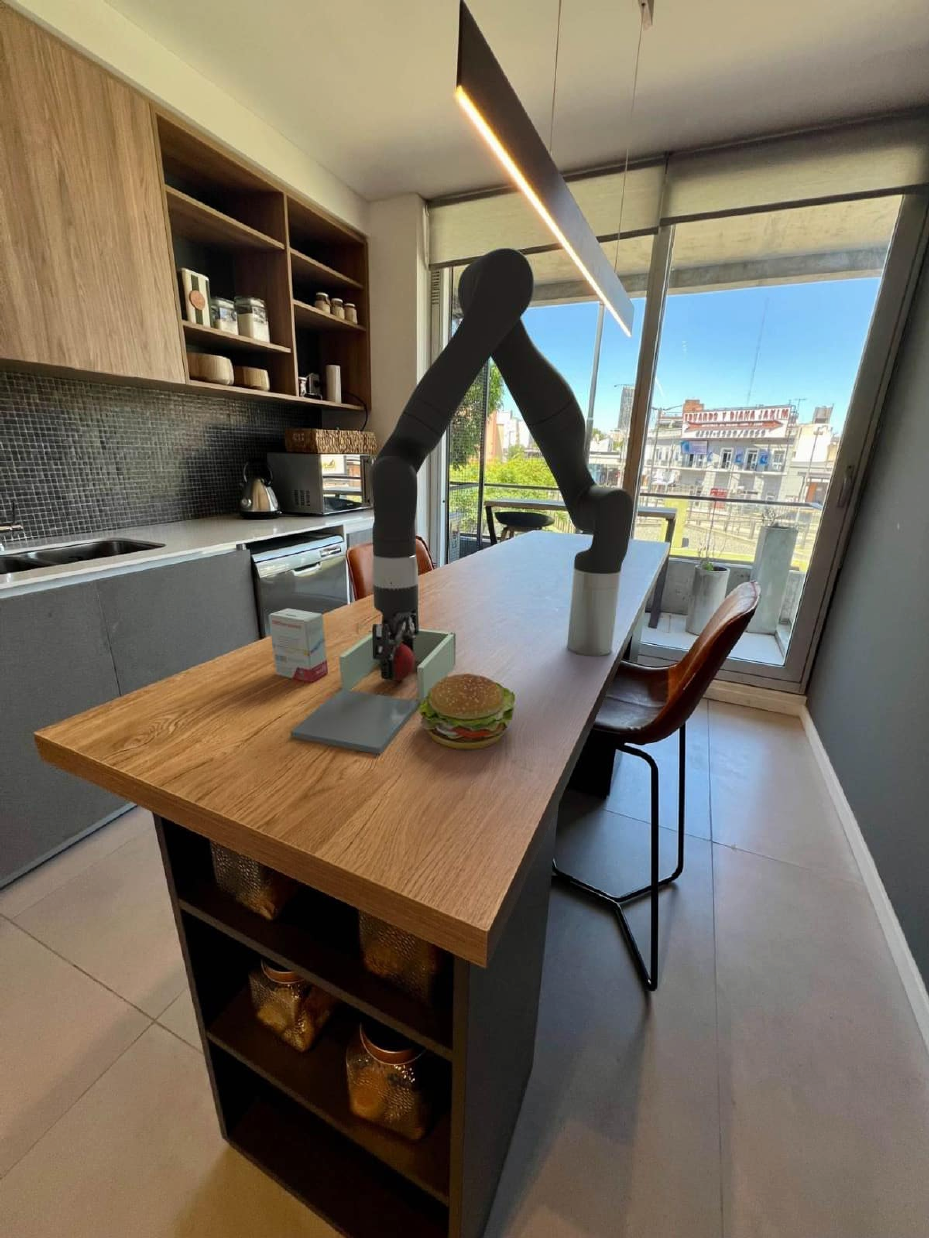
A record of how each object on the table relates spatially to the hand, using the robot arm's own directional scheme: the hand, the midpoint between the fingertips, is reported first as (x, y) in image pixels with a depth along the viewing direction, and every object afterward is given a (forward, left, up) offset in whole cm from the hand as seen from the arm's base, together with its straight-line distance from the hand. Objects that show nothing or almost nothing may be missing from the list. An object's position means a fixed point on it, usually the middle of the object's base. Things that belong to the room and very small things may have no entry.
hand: (398, 669), depth 87 cm
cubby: (-1, 0, -2) cm, 2 cm away
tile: (+15, 0, -2) cm, 15 cm away
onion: (0, 0, -2) cm, 2 cm away
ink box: (+3, -18, -3) cm, 18 cm away
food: (+12, +17, -3) cm, 21 cm away
